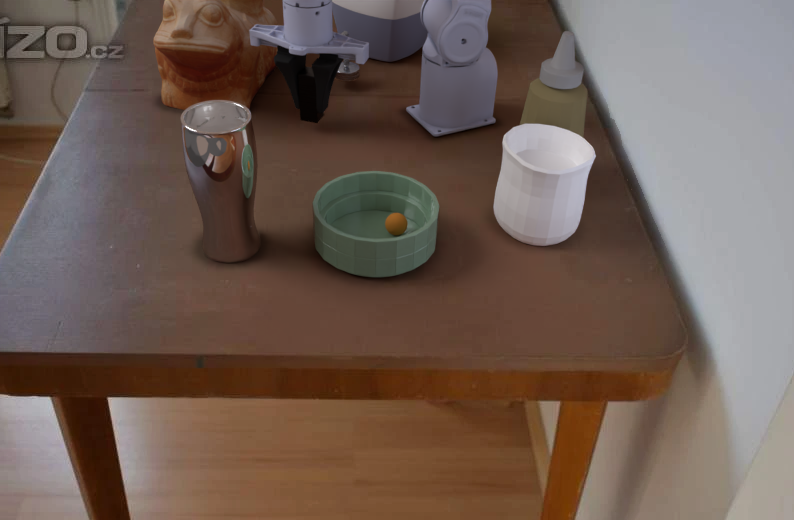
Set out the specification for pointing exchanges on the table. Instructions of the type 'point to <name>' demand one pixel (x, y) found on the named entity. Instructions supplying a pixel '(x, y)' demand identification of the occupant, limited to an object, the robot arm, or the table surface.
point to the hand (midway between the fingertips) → (311, 107)
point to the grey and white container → (382, 25)
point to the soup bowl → (374, 223)
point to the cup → (542, 183)
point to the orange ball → (396, 224)
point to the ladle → (308, 87)
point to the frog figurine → (212, 51)
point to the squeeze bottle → (558, 91)
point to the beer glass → (223, 176)
